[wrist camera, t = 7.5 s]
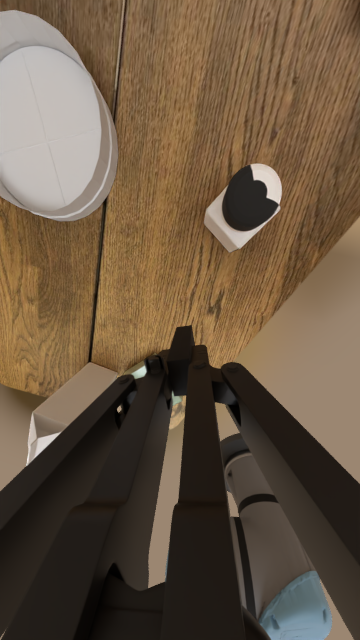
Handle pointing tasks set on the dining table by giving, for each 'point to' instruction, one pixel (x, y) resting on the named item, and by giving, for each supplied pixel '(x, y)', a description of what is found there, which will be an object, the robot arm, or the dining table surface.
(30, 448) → the milk carton
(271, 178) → the medicine bottle
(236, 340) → the dining table surface
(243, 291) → the dining table surface
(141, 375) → the push button box
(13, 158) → the dish
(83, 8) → the dining table surface
